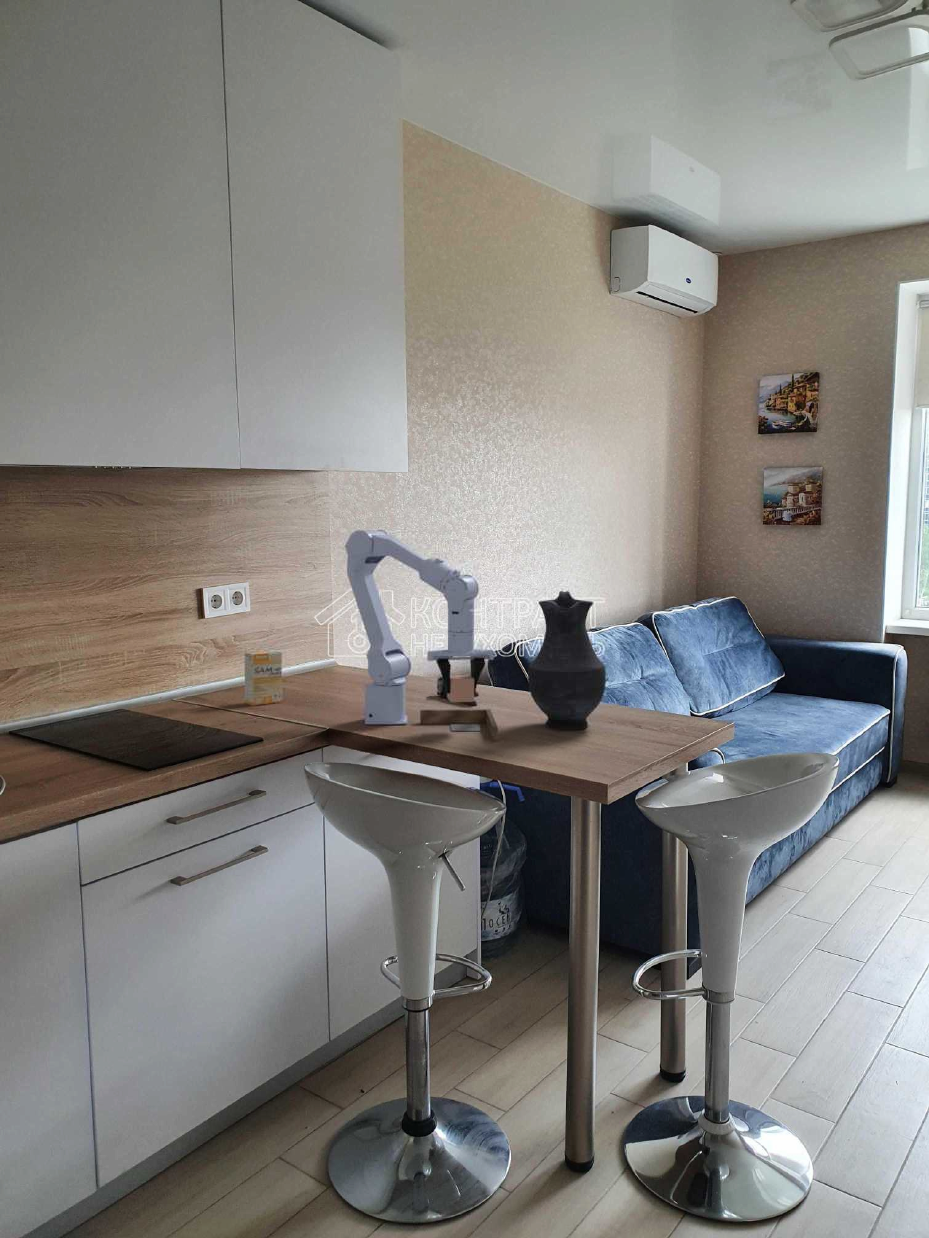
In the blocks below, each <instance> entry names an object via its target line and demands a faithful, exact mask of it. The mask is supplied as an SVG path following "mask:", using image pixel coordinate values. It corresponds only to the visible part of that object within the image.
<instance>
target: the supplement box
mask: <svg viewBox="0 0 929 1238" xmlns="http://www.w3.org/2000/svg"><path fill="white" fill-rule="evenodd" d="M282 653H283V651H280V650H277V649H273V650H272V649H270V650H259V651H257V650H256V651H245V652H244V703H245V704H247V705H249V706H252V707H253V706H263V705H269V704H276V703H282V702H283V654H282Z"/></svg>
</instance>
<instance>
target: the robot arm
mask: <svg viewBox="0 0 929 1238" xmlns="http://www.w3.org/2000/svg"><path fill="white" fill-rule="evenodd" d="M344 548H345V551H346V554H347V558H346V559H347V562H346V563H347V564H346V574H347V575H346V576H347V578H348V581H349V583H350V587H351V589H352V592H353V595H354V599H355V601H356V605H357V609H358V611H359V614H360V617H361V621H362V624H363V626H364V627H363V628H364V630H365V633H366V635H367V639H368V642H369V645H370V646H369V648H368V651H367V653H366V659H367V662H368V663H367V674H368V676H369V678H370V679H371V680H372V682H370V683H369V682H368V683H365V687H364V707H363V716H364V724H365V725H407V724H408V715H407V714H406V681H407V677H408V675H409V674H410V673H411V670H412V662H411V661H412V660H411V658H410V657H409V656H408V655H407V653H405V651H404V649H403V647H402V644H401V643H400V642H398V641H397V640H396V639H395V638H394V636H393V633H392V630H391V626H390V625H389V624H390V623H389V621H388V618H387V615H386V611H385V609H384V606H383V605H384V604H383V603H382V600H381V596H380V594H379V591H378V588H377V587H378V586H377V585H376V582H375V578H374V572H375V570H376V568H377V567H378V565H379V564H380V563H381V562H382V561H383V560H384V558H386V557H391V558H392V559H395V560H396V561H398V562H400V563H402V564H404V565H406V566H407V567H408V568H411V569H413V570H414V571H416V572H418V576H419V579H420V580H421V581H422V582H424V583H425V584H426V585H429V586H431V587H432V588H434V589H435V590H437V591H438V592H439V593H441V594H443V597H444V599H445V601H446V602H447V649H440V650H427V651H426V652H427V653H426V655H427V657H426V659H427V661H429V662H434V661H435V662H436V664H437V666H438V669H439V671H440V674H441V677H443V680H444V684H445V691H446V693H447V694H450V676H451V669H452V668H451V666H452V665H451V663H450V661H460V660H461V661H464V660H465V661H466V660H467V661H469V660H470V661H469V663H470V676H471V677H472V678H474V693H475V692H477V691H476V690H477V685H478V682H479V680H480V676H481V674H482V671H483V669H484V668H485V667H486V666H485V665H486V661H485V660H491V661H492V660H494V659H495V651H494V650H493V649H474V648H475V644H474V643H475V641H474V640H475V599H476V597H478V594H479V592H480V591H479V589H480V588H479V584H478V582H477V580H476V579H475V578H474V577H473V576H472V575H470V574H461V571H460V570H459V569H454V568H452V567H451V566H449V565H447V564H446V563H444V561H445V560H444V559H442V558H441V557H436V558H435V557H431V558H428V559H427V558H425V557H424V556H422V555H421V554H420V553H418V552H417V551H416V550H414V549H412V548H411V547H410V546H408V545H407V544H405V543H404V542H402V541H401V540H399V538H397V537H396V536H395V535H393V534H391V533H388V532H387V531H385V530H383V529H376V530H363V529H362V530H361V529H360V530H359V529H358V530H355V531H352V533H351V534H350V535H349V538H348V539H347V541H346V543H345V545H344Z"/></svg>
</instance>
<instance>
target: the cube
mask: <svg viewBox="0 0 929 1238" xmlns="http://www.w3.org/2000/svg"><path fill="white" fill-rule="evenodd" d="M446 699H448V700H449V702H450V703H463V702H474V701H475V697H474V678H472V677H471V674H467V675H465V674H464V675H463V674H462V675H461V674H460V675H458V674H457V675H450V694H447V698H446Z"/></svg>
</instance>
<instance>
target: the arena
mask: <svg viewBox="0 0 929 1238" xmlns="http://www.w3.org/2000/svg"><path fill="white" fill-rule="evenodd" d="M419 712H420V715H419V718H420V719H419V720H420V721H419V722H420V724H449V725H450V729H451V732H452V733H453V732H457V733H460V732H461V733H462V732H482V728H481V726H480V725H481V724H486V726H487V729H488V732H489V736H490V737H491V740H492V742H498V741H499V740H498V739H499V734H498V733H499V727H498V724H497V723H496V720H495V717H494V715H493V713H492V710H491V709H489V708H488V709H487V708H485V709H484V708H480V709H479V708H475V709H473V708H472V709H471V708H470V709H469V708H467V709H465V708H464V709H461V708H460V709H459V708H457V709H454V708H453V709H446V708H445V709H420V711H419Z"/></svg>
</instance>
